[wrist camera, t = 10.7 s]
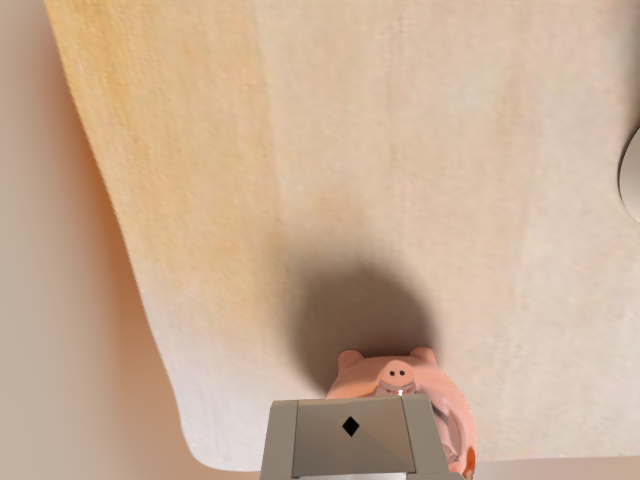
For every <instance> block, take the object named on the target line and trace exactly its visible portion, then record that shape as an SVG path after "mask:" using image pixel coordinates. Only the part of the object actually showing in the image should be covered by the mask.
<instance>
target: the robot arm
mask: <svg viewBox="0 0 640 480" xmlns="http://www.w3.org/2000/svg"><path fill="white" fill-rule="evenodd" d="M620 193H621V198H622V201H623V203H624V205H625V207H626V209H627V211H628V212H629V214H630V215H631V216H632V217H633V218H634V219H635V220H636V221H637V222H638V223H640V128H639V129H638V131H637V132H636V134H635V135H634V137H633V139H632V141H631V142H630V144H629V146H628V149H627V151H626V153H625V156H624V159H623V162H622V166H621V171H620ZM260 480H466V479H465V478H464V477H463V476H462V475H461V474H460V473H459V472H450V470H449V467H448V463H447V459H446V456H445V452H444V449H443V445H442V442H441V438H440V434H439V431H438V427H437V424H436V420H435V416H434V413H433V409H432V406H431V402H430V398H429V397H428V395H427V394H426V393H425V394H407V395H400V396H399V395H387V396H370V397H354V398H347V399H304V400H281V401H273V403H272V405H271V408H270V414H269V421H268V427H267V434H266V441H265V447H264V454H263V461H262V467H261V474H260Z"/></svg>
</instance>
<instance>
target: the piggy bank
mask: <svg viewBox="0 0 640 480" xmlns="http://www.w3.org/2000/svg"><path fill="white" fill-rule="evenodd" d="M425 393H426V394H427V395H428V397H429V398H430V402H431V406H432V409H433V413H434V416H435V420H436V424H437V427H438V431H439V434H440V438H441V442H442V445H443V449H444V452H445V456H446V459H447V463H448V467H449V470H450V472H459V473H460V474H461V475H462V476H463V477H464V478H465V479H466V480H472V479H473V475H474V471H475V466H476V459H477V435H476V428H475V423H474V419H473V416H472V413H471V410H470V407H469V405H468V403H467V401H466V399H465V397H464V395H463V394H462V392H461V391H460V389H459V388H458V387H457V386H456V384H455V383H454V382H453V381H452V380H451V379H450V378H449V377H448V376H447V375H446V374H445V373H444V372H443V371H442V370H440V369H439V368H438V367H437V363H436V358H435V354H434V352H433V350H432V349H430V348H428V347H418V348H415V349H413V350H412V351H411V353H410V355H409V356H381V357H370V358H364V357H363V356H362V354H361V353H360V352H358V351H356V350H346V351H343V352H342V353H341V354H340V355H339V357H338V376H337V378H336V380H335V381H334V383H333V385H332V386H331V388H330V390H329V392H328V394H327V396H326V398H325V399H347V398H354V397H370V396H387V395H399V396H400V395H407V394H425Z"/></svg>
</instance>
